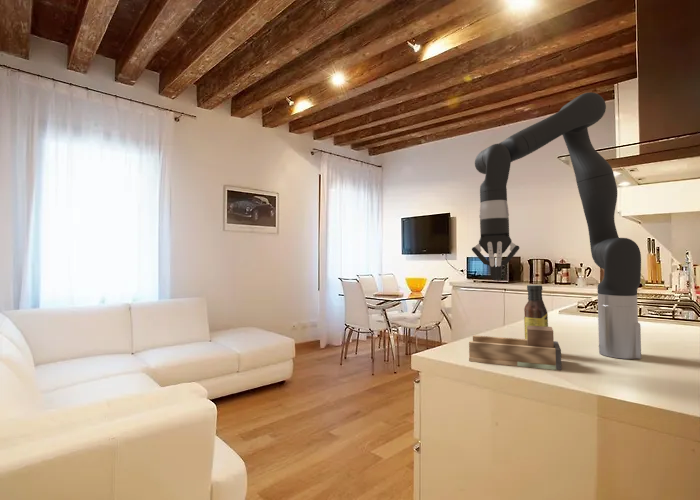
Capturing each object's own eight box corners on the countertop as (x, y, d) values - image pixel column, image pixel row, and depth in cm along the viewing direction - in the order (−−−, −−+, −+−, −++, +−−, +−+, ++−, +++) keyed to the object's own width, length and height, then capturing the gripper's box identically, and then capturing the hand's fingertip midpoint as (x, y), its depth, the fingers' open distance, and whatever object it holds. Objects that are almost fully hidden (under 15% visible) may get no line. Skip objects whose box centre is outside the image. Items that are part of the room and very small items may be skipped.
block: (552, 356, 101) (551, 326, 101) (554, 362, 96) (553, 330, 96) (527, 354, 104) (527, 325, 104) (528, 360, 98) (527, 329, 98)
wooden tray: (557, 359, 103) (557, 341, 103) (561, 370, 93) (561, 350, 93) (473, 351, 112) (473, 334, 112) (469, 361, 102) (468, 342, 102)
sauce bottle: (551, 356, 106) (550, 285, 106) (528, 355, 107) (526, 285, 108) (544, 350, 112) (543, 284, 113) (522, 349, 114) (521, 284, 114)
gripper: (520, 217, 105) (522, 279, 105) (471, 220, 111) (473, 279, 110) (520, 215, 98) (522, 281, 98) (467, 218, 104) (469, 281, 104)
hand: (496, 280), depth 104 cm, fingers closed
